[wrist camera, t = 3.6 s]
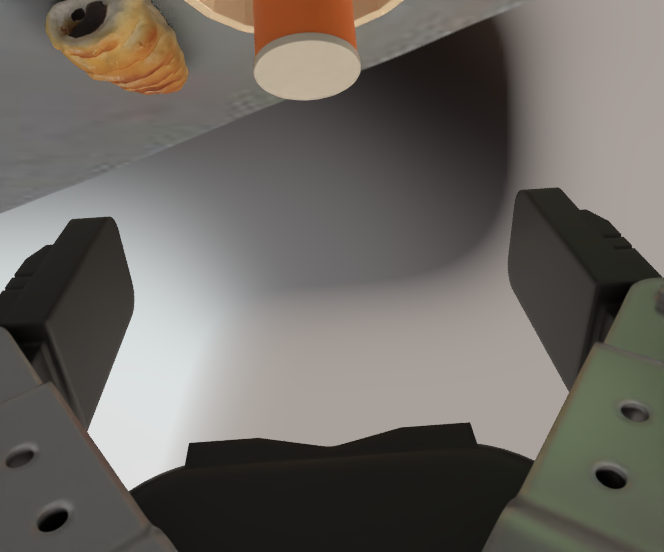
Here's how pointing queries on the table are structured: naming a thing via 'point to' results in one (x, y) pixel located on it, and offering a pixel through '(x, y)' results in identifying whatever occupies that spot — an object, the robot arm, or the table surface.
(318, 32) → the cracker tube
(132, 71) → the pastry
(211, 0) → the oatmeal bowl
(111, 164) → the table surface
